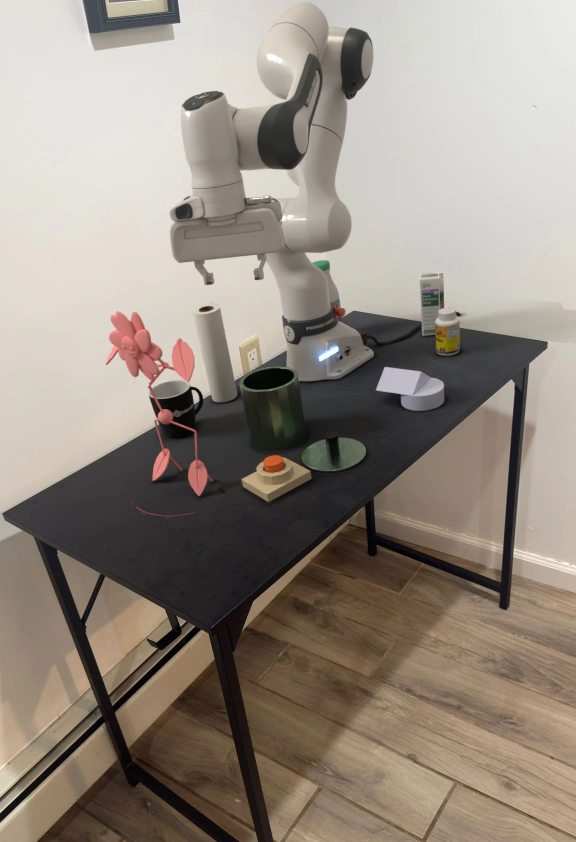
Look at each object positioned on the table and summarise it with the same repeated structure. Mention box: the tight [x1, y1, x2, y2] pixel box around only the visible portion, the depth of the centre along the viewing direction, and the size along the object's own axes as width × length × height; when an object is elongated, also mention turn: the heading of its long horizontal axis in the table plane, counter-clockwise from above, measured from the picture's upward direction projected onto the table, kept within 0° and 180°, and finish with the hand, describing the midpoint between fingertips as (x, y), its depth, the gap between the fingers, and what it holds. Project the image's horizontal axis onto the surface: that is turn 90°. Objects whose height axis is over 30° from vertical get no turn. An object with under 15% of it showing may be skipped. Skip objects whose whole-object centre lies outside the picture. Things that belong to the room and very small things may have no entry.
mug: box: [148, 379, 204, 439], centre depth 155 cm, size 12×9×10 cm
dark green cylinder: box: [239, 365, 307, 452], centre depth 144 cm, size 11×12×14 cm
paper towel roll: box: [192, 301, 238, 403], centre depth 163 cm, size 7×6×21 cm
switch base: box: [241, 457, 313, 503], centre depth 132 cm, size 10×8×4 cm
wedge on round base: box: [375, 366, 445, 412], centre depth 152 cm, size 9×7×13 cm
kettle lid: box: [300, 431, 367, 474], centre depth 136 cm, size 12×12×5 cm
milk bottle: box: [312, 259, 343, 323], centre depth 184 cm, size 8×8×20 cm
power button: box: [262, 454, 284, 473], centre depth 130 cm, size 4×4×2 cm
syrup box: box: [419, 270, 445, 337], centre depth 179 cm, size 6×6×14 cm
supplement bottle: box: [435, 307, 461, 357], centre depth 169 cm, size 6×6×10 cm
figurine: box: [105, 310, 214, 519], centre depth 126 cm, size 15×26×35 cm, turn 48°
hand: (234, 281), depth 132 cm, fingers open, 8 cm apart
